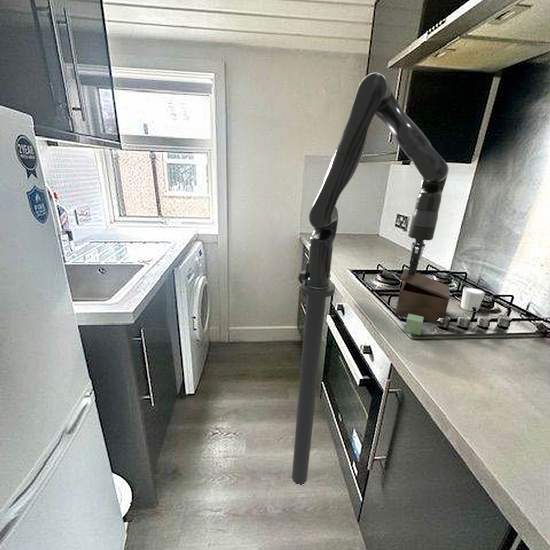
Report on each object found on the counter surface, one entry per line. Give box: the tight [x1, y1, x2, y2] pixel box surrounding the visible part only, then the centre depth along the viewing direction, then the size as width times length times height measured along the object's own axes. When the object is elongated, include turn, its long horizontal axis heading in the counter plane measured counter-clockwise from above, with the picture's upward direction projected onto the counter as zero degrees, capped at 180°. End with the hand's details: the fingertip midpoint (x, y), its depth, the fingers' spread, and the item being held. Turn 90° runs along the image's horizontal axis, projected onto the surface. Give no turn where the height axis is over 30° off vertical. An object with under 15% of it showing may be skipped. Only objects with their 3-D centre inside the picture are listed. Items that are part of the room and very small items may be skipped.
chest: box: [395, 281, 450, 326], centre depth 105 cm, size 15×13×9 cm
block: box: [404, 314, 424, 336], centre depth 93 cm, size 4×4×4 cm
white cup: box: [460, 287, 486, 312], centre depth 111 cm, size 7×7×7 cm
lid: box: [399, 268, 451, 301], centre depth 102 cm, size 16×13×5 cm
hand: (412, 272), depth 104 cm, fingers closed on lid, 5 cm apart
